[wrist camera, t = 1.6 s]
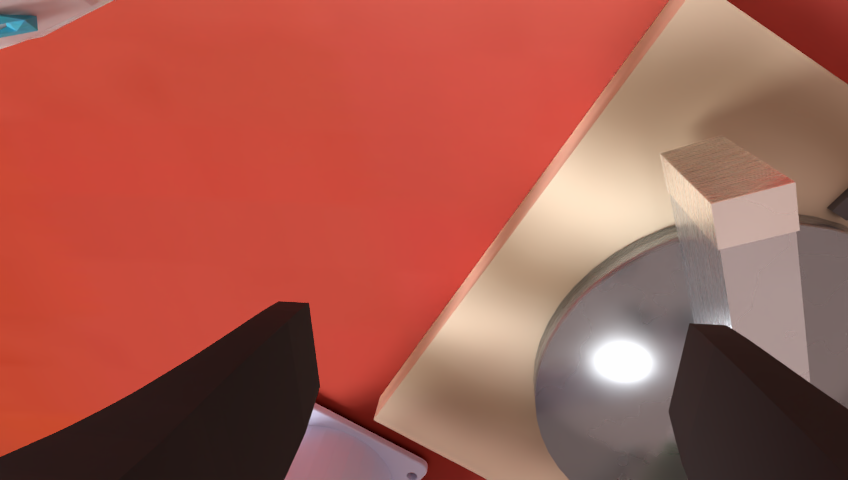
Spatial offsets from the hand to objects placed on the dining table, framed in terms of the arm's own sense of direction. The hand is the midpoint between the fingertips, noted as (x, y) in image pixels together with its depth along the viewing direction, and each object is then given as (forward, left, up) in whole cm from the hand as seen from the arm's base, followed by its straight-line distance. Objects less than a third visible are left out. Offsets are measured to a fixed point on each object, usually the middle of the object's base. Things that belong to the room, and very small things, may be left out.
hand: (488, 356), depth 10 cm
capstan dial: (-1, -10, -9) cm, 14 cm away
